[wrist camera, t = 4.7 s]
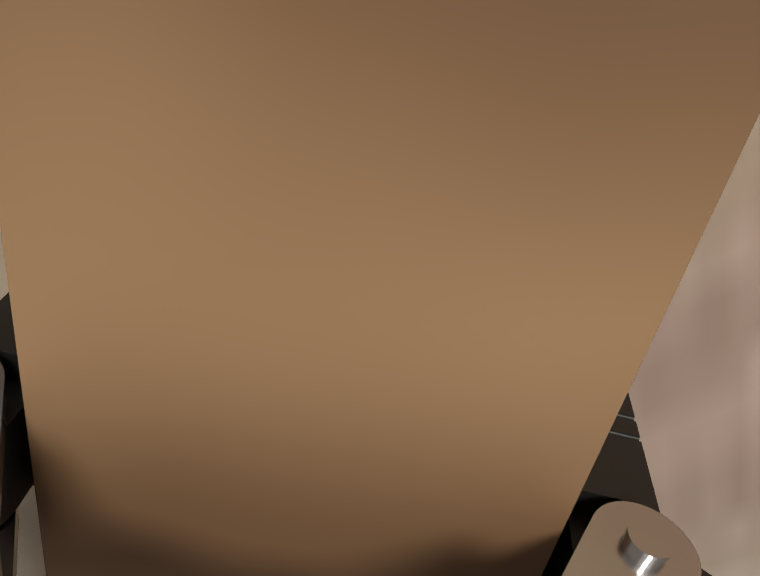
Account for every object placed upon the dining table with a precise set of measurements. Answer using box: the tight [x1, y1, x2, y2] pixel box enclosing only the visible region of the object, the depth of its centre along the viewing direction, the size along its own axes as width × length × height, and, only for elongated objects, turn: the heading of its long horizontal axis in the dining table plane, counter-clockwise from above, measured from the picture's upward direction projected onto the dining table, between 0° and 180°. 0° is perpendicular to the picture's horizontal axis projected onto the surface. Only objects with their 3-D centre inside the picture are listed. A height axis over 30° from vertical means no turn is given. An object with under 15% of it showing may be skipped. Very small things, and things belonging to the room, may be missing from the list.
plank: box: [0, 0, 760, 576], centre depth 11 cm, size 18×6×5 cm, turn 170°
